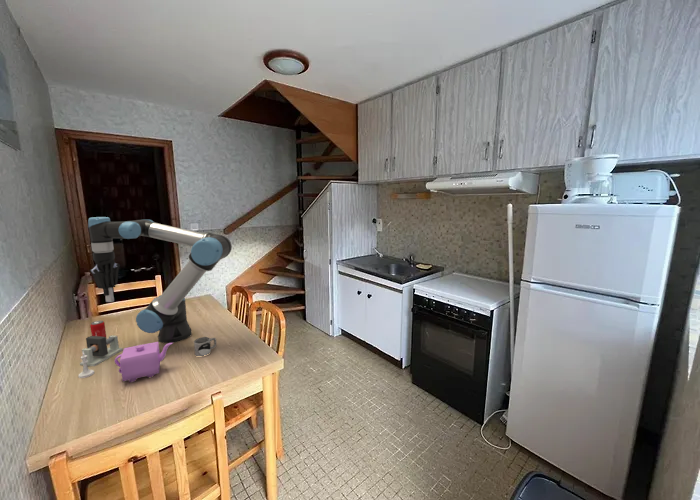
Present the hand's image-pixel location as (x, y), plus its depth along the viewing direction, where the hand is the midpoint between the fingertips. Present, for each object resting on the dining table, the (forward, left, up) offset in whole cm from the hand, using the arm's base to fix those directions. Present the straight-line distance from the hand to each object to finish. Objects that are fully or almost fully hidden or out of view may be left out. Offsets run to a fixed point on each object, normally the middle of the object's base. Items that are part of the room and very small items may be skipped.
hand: (110, 301), depth 136 cm
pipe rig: (0, +7, -24) cm, 25 cm away
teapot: (-30, +16, -24) cm, 42 cm away
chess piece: (-6, +20, -24) cm, 32 cm away
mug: (-44, -3, -24) cm, 50 cm away
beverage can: (+11, -3, -24) cm, 27 cm away
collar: (0, +9, -22) cm, 24 cm away
